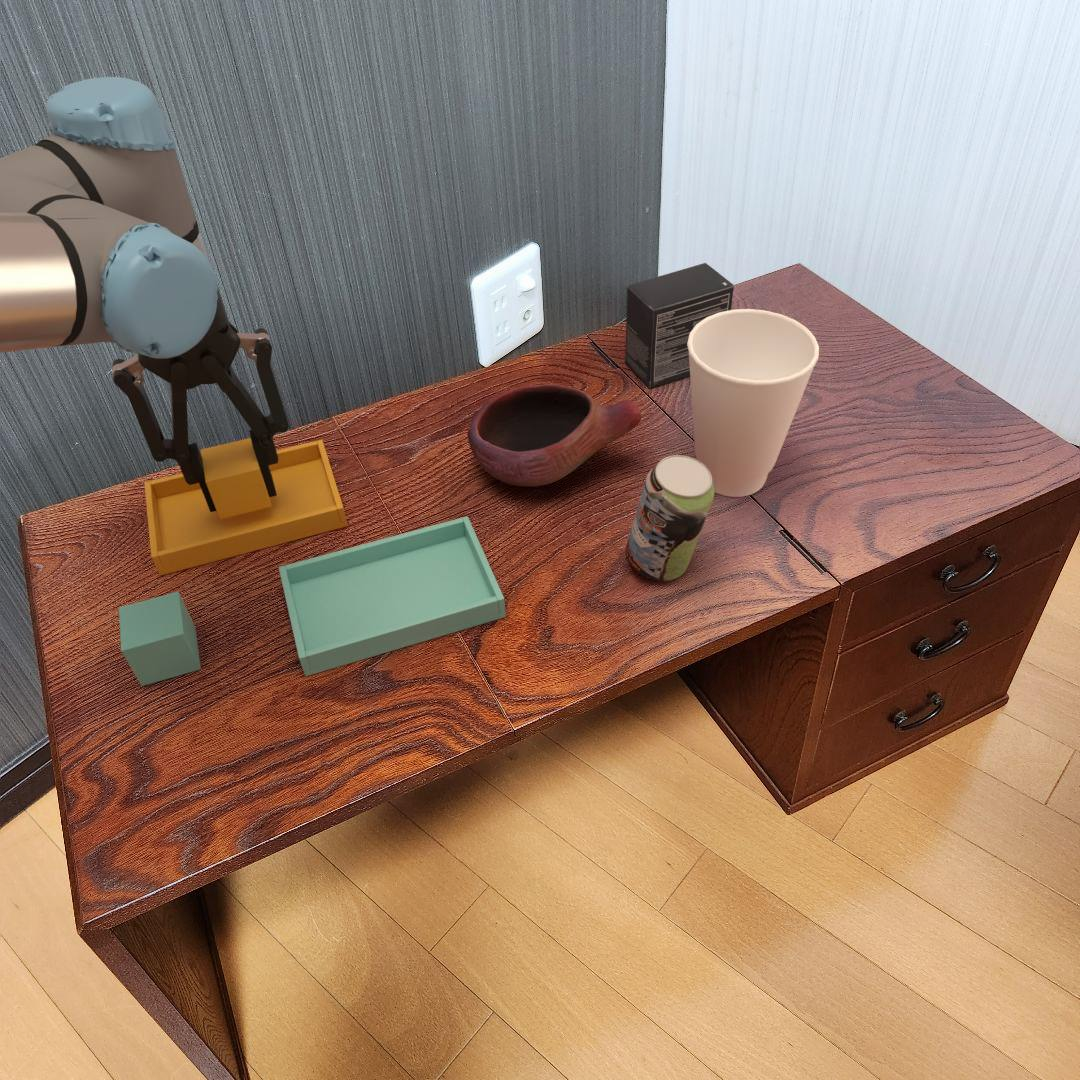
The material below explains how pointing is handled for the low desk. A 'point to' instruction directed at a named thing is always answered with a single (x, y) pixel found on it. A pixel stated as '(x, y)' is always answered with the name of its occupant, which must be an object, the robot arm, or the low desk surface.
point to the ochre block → (234, 478)
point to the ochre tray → (202, 537)
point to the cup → (746, 392)
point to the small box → (670, 320)
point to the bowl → (544, 432)
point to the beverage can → (669, 517)
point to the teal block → (159, 638)
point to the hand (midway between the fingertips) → (242, 494)
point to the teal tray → (389, 594)
